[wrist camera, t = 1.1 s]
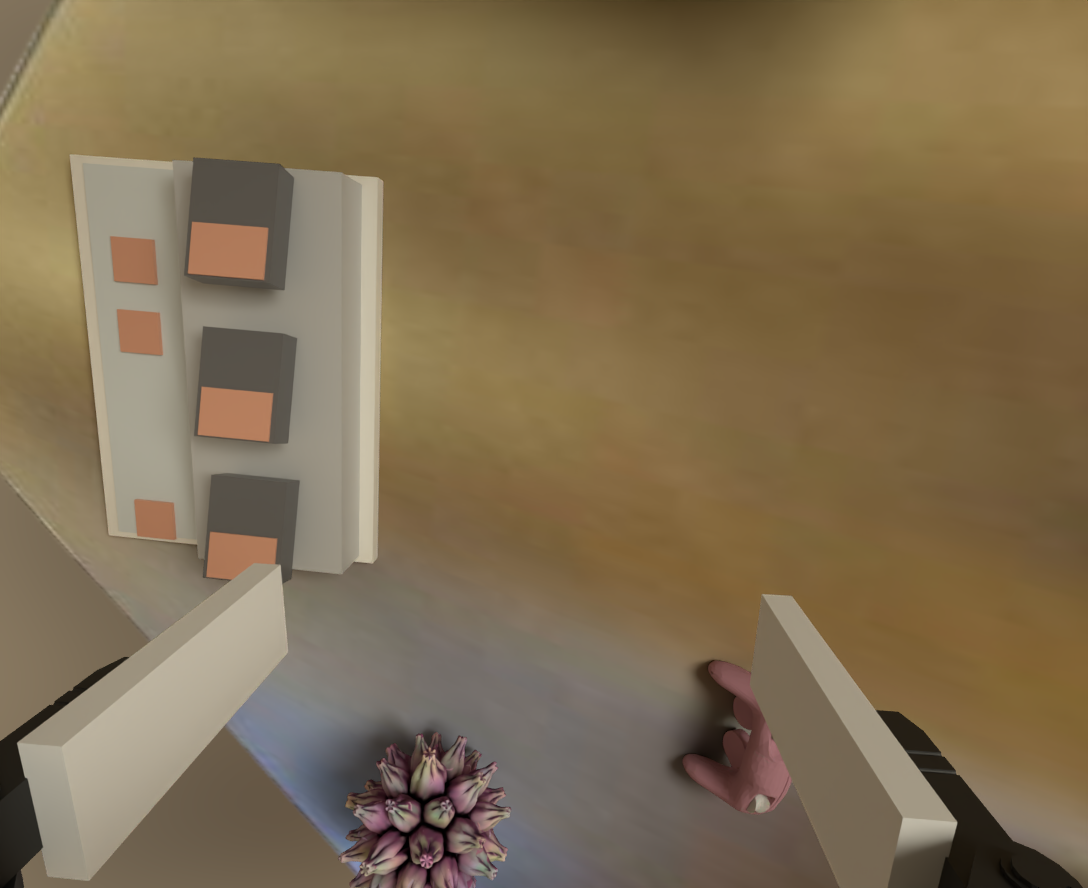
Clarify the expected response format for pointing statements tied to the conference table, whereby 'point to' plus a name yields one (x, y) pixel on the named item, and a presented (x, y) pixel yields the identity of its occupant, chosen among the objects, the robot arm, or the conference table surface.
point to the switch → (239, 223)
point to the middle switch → (245, 385)
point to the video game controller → (743, 752)
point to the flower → (427, 820)
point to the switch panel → (187, 305)
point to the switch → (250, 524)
